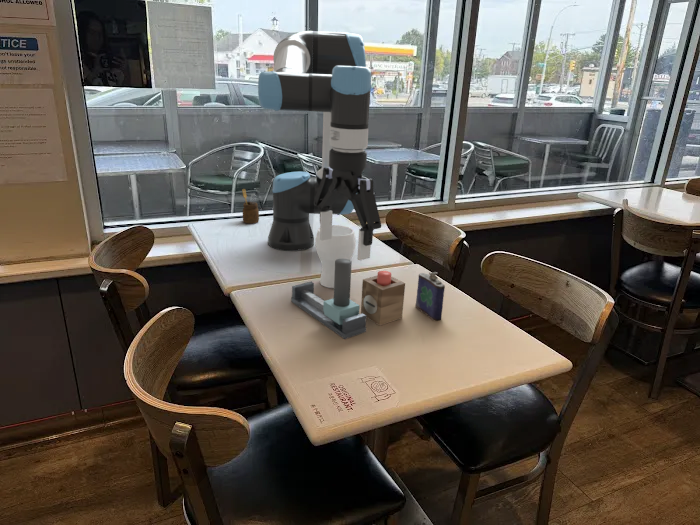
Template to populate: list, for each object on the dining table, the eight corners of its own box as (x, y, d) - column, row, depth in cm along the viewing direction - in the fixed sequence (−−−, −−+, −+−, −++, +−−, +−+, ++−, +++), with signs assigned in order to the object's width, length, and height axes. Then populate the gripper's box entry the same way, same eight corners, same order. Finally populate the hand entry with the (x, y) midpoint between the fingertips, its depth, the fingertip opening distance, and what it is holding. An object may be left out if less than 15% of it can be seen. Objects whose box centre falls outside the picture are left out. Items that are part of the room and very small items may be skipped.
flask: (413, 305, 124) (417, 266, 120) (423, 304, 125) (427, 264, 121) (434, 322, 116) (440, 280, 113) (444, 320, 118) (450, 278, 114)
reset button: (373, 290, 116) (374, 272, 114) (383, 287, 118) (385, 269, 116) (382, 295, 114) (383, 277, 112) (392, 292, 116) (394, 274, 114)
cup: (306, 282, 135) (307, 229, 130) (333, 272, 142) (335, 222, 137) (334, 294, 128) (336, 239, 123) (361, 283, 136) (364, 231, 130)
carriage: (323, 314, 113) (324, 259, 108) (342, 308, 116) (345, 255, 111) (338, 325, 108) (341, 268, 103) (358, 318, 111) (362, 263, 107)
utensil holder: (251, 225, 181) (251, 192, 177) (238, 221, 184) (237, 190, 180) (262, 221, 186) (261, 190, 182) (249, 218, 189) (248, 187, 185)
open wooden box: (358, 314, 118) (360, 279, 115) (382, 306, 123) (385, 273, 119) (377, 326, 113) (380, 290, 110) (402, 317, 118) (405, 283, 114)
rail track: (291, 301, 123) (291, 286, 122) (311, 296, 127) (311, 281, 125) (344, 339, 107) (345, 321, 106) (366, 331, 110) (367, 314, 109)
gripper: (298, 140, 105) (298, 234, 113) (374, 161, 87) (367, 271, 95) (327, 138, 110) (324, 229, 118) (405, 158, 92) (395, 264, 100)
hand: (343, 248), depth 107 cm, fingers open, 13 cm apart
